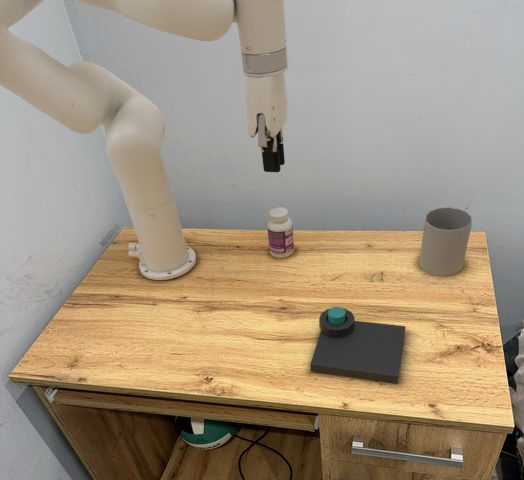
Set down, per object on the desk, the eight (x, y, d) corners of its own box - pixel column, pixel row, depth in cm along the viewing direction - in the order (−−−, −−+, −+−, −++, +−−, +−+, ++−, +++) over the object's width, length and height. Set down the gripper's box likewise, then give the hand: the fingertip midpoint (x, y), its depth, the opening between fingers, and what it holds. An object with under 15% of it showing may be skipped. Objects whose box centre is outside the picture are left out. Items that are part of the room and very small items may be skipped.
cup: (450, 280, 96) (459, 235, 89) (411, 267, 100) (417, 223, 93) (470, 259, 100) (479, 214, 93) (431, 247, 104) (438, 203, 97)
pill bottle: (292, 259, 107) (289, 218, 100) (268, 258, 108) (263, 218, 101) (296, 245, 110) (293, 205, 104) (272, 244, 111) (268, 205, 105)
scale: (308, 371, 82) (307, 356, 80) (323, 320, 91) (323, 305, 89) (397, 383, 78) (399, 368, 76) (405, 329, 87) (407, 314, 85)
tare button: (326, 324, 86) (326, 316, 84) (329, 313, 88) (329, 305, 86) (343, 326, 85) (344, 318, 84) (347, 315, 87) (347, 307, 86)
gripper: (257, 48, 90) (267, 150, 102) (227, 77, 79) (243, 186, 92) (298, 46, 88) (303, 150, 100) (273, 75, 77) (282, 188, 90)
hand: (274, 167), depth 96 cm, fingers closed
